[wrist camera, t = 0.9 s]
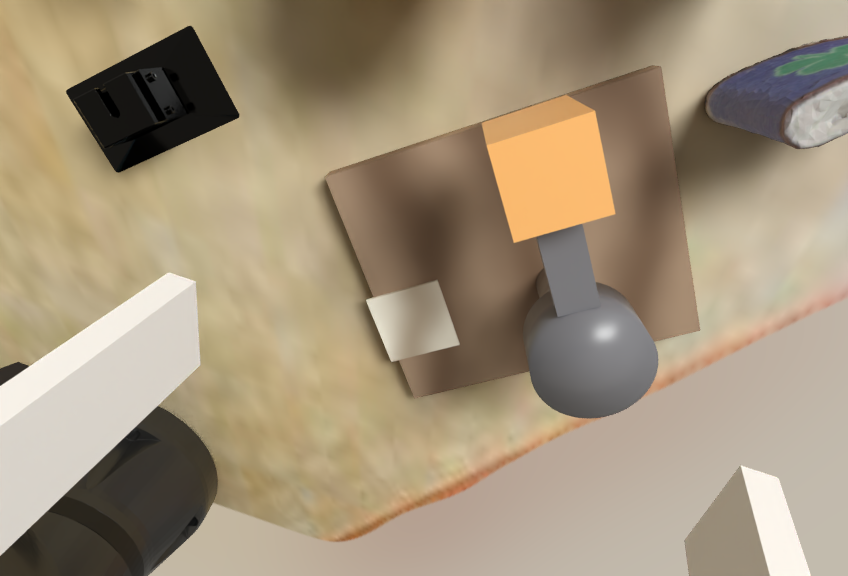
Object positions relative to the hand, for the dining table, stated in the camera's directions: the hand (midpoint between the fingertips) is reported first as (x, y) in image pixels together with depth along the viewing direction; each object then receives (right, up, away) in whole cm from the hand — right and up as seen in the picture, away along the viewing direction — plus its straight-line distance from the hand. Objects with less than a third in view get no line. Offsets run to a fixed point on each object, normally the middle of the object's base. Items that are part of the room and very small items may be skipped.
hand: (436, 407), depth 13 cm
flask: (+20, +15, +18) cm, 31 cm away
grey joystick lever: (+7, +5, +15) cm, 17 cm away
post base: (+6, +5, +23) cm, 24 cm away
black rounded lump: (-17, +15, +21) cm, 31 cm away
